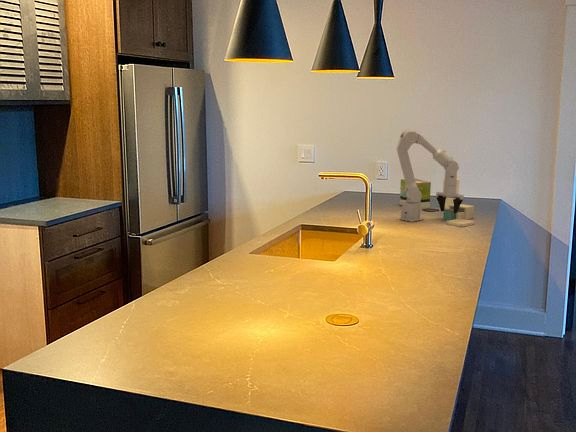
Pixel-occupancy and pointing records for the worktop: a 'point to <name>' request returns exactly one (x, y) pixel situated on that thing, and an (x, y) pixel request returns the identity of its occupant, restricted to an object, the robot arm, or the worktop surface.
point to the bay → (464, 211)
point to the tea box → (423, 188)
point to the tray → (460, 222)
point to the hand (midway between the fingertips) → (449, 212)
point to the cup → (450, 200)
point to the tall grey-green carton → (449, 215)
